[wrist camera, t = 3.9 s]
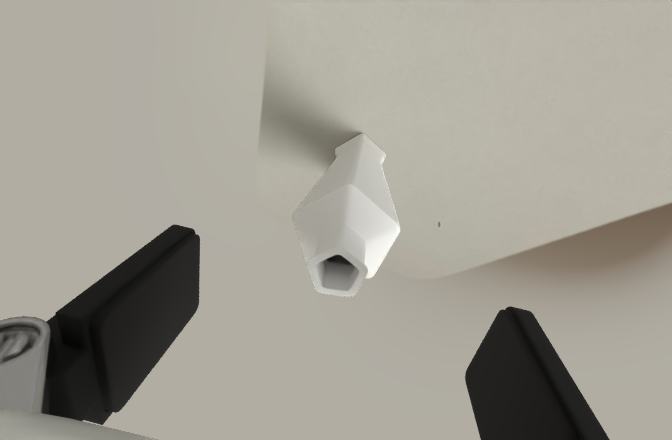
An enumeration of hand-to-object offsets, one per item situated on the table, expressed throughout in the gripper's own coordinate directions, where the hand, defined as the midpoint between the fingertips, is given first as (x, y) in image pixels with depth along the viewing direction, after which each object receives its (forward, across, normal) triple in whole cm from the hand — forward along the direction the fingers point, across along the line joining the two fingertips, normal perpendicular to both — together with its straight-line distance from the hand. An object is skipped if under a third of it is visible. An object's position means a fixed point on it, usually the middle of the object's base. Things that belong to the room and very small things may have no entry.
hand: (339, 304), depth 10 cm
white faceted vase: (+17, 0, 0) cm, 17 cm away
